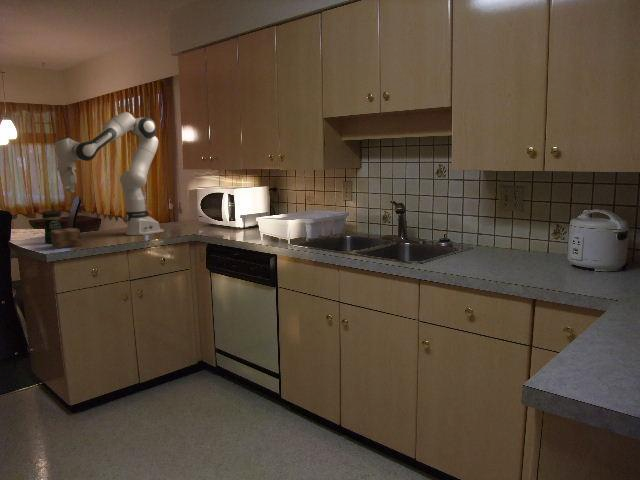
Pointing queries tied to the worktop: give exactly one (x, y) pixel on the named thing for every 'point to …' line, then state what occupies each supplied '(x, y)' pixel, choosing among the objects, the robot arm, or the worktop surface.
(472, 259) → the worktop surface
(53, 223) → the coffee jar
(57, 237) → the tip box
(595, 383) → the worktop surface
